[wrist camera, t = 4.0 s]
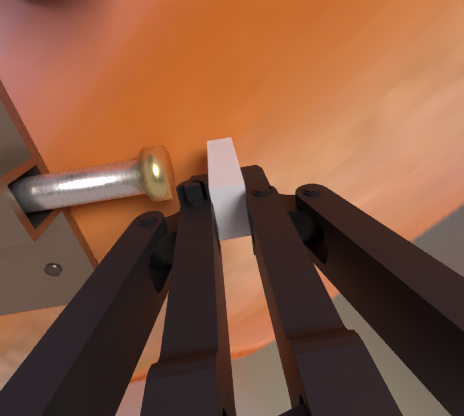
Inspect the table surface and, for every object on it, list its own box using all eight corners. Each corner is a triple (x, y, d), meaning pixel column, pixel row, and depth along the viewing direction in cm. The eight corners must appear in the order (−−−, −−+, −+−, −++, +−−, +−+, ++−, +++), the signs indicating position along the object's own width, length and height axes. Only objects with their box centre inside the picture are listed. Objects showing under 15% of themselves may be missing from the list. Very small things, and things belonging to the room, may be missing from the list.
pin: (-62, 223, 19) (-109, 254, 16) (-99, 180, 18) (-159, 207, 15) (177, 184, 19) (172, 208, 16) (164, 137, 18) (156, 156, 15)
